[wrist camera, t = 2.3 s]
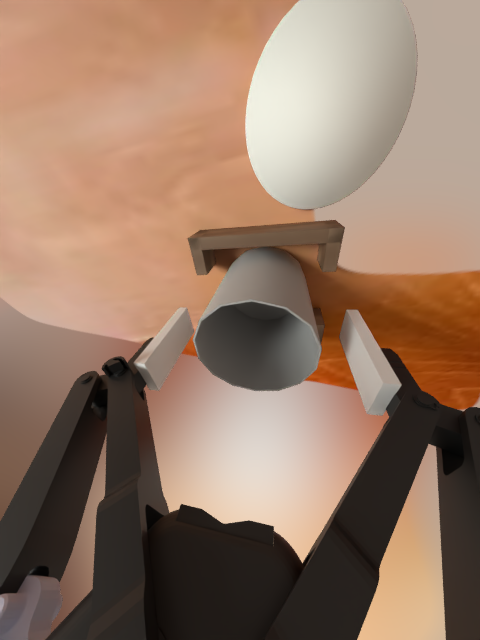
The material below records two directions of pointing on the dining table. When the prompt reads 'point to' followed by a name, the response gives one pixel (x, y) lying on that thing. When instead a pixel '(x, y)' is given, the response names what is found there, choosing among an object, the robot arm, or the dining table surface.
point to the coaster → (330, 98)
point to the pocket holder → (271, 235)
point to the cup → (260, 324)
